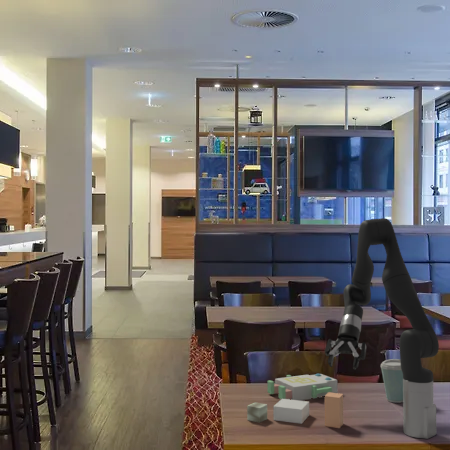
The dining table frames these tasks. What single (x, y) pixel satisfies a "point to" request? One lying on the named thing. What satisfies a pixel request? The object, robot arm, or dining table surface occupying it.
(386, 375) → the disposable coffee cup
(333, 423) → the terracotta block
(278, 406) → the grey base block
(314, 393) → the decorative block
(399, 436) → the dining table surface
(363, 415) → the dining table surface
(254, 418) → the sage cube
